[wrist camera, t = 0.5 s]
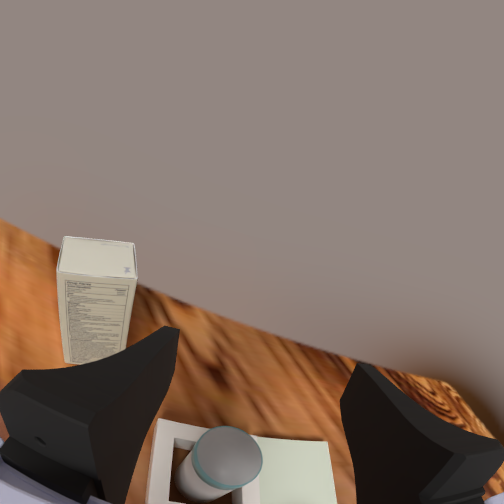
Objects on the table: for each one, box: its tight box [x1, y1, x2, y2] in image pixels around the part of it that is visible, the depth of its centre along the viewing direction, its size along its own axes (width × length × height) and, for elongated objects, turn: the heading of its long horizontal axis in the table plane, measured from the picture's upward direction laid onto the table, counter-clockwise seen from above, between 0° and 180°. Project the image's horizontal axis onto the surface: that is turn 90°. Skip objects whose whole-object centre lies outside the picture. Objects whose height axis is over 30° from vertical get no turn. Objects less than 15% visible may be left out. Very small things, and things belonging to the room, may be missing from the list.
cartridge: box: [174, 426, 263, 503], centre depth 20 cm, size 5×5×8 cm
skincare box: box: [57, 236, 138, 364], centre depth 25 cm, size 6×4×12 cm
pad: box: [257, 437, 337, 504], centre depth 23 cm, size 10×8×1 cm
